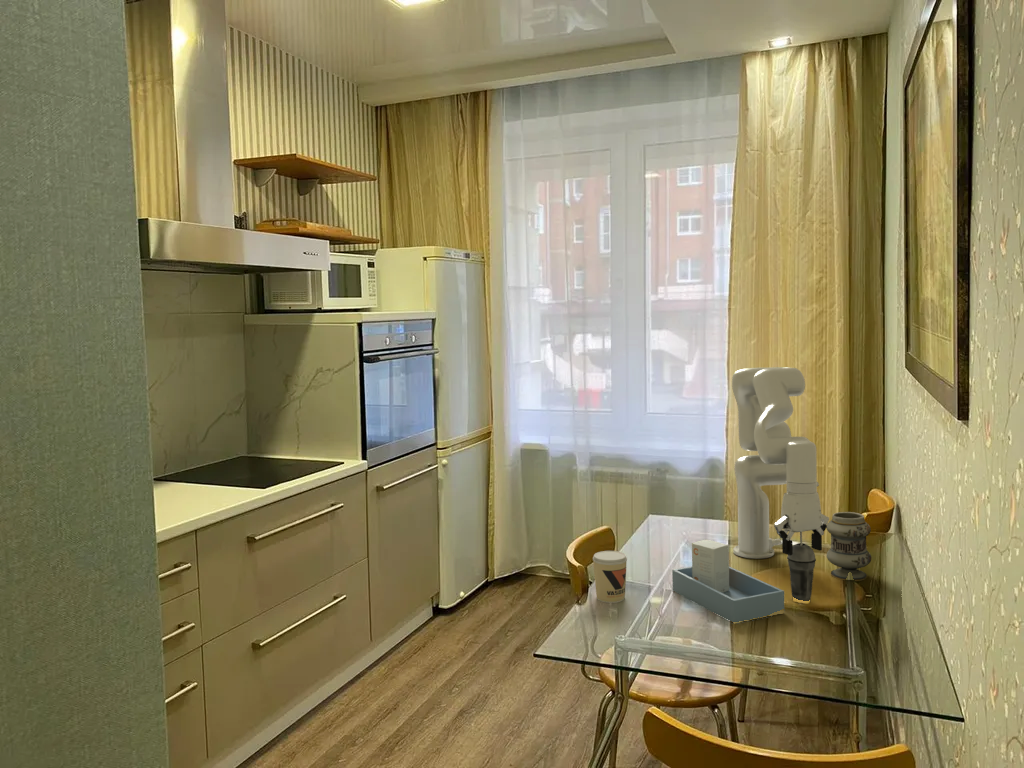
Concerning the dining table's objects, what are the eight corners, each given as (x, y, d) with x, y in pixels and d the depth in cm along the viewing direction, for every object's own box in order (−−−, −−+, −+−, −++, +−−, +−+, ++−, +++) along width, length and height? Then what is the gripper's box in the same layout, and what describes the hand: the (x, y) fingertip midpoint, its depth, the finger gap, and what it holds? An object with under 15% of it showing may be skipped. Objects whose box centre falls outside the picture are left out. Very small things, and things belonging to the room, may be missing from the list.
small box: (729, 590, 223) (729, 544, 222) (714, 596, 219) (714, 549, 218) (706, 583, 230) (706, 538, 229) (691, 588, 226) (691, 542, 225)
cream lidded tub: (606, 606, 217) (605, 562, 216) (587, 596, 226) (586, 553, 225) (634, 599, 222) (633, 556, 221) (615, 589, 230) (614, 548, 229)
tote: (718, 582, 234) (718, 561, 233) (784, 613, 208) (784, 591, 208) (672, 590, 228) (672, 569, 227) (734, 624, 202) (733, 600, 202)
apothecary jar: (837, 566, 244) (837, 507, 242) (878, 574, 235) (878, 513, 234) (819, 576, 236) (819, 515, 234) (861, 585, 227) (861, 522, 225)
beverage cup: (817, 598, 218) (817, 525, 217) (814, 607, 212) (814, 532, 210) (788, 594, 222) (788, 523, 220) (785, 603, 215) (785, 529, 213)
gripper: (817, 482, 221) (817, 544, 222) (765, 488, 214) (766, 552, 215) (837, 486, 214) (838, 550, 215) (784, 493, 207) (785, 559, 208)
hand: (802, 551), depth 215 cm, fingers open, 9 cm apart
